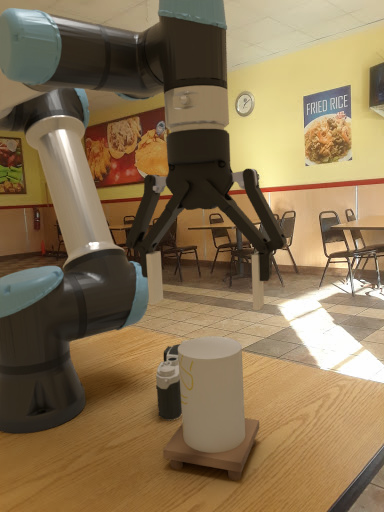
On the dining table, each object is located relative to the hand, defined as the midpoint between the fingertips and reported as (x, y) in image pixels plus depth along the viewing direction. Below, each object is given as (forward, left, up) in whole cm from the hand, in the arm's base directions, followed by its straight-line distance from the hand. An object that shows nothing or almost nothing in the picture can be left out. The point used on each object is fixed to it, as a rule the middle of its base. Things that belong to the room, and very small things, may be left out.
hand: (205, 304), depth 55 cm
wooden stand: (0, 0, -21) cm, 21 cm away
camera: (-9, +14, -21) cm, 27 cm away
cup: (0, 0, -18) cm, 18 cm away
